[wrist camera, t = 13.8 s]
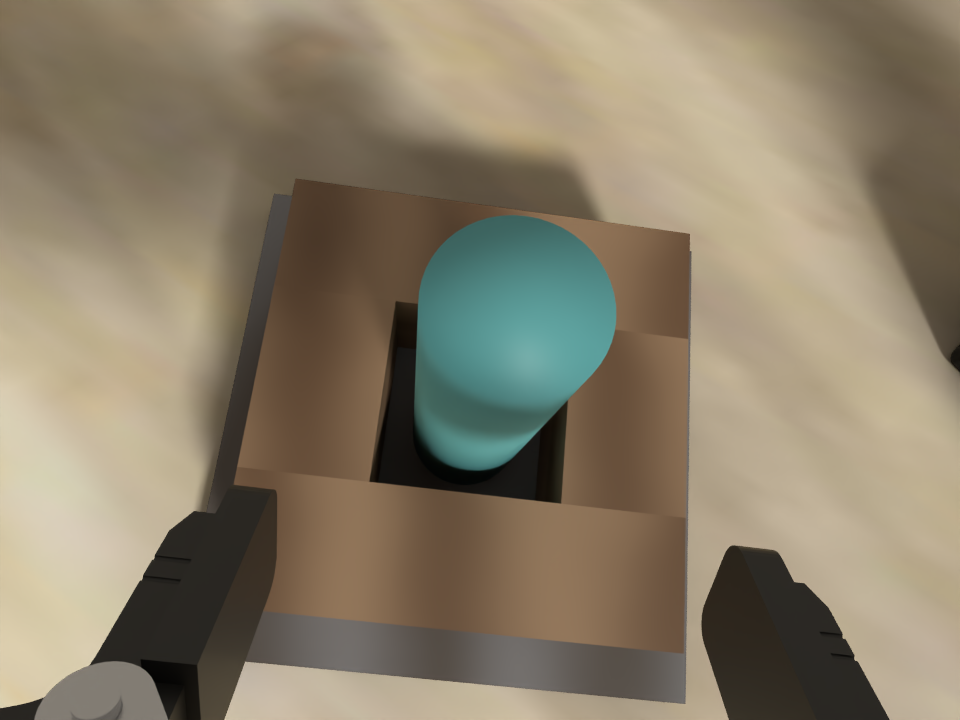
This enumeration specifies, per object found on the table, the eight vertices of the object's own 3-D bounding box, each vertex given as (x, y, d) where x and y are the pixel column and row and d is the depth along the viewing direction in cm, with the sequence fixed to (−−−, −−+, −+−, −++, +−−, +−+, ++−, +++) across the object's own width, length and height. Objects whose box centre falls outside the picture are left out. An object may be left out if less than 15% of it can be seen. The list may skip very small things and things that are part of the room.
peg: (520, 389, 28) (621, 229, 15) (511, 490, 27) (611, 414, 14) (419, 377, 28) (431, 202, 15) (406, 478, 27) (405, 389, 13)
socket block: (681, 262, 32) (743, 192, 26) (673, 698, 27) (749, 733, 21) (279, 207, 31) (248, 121, 25) (186, 651, 26) (119, 674, 20)
